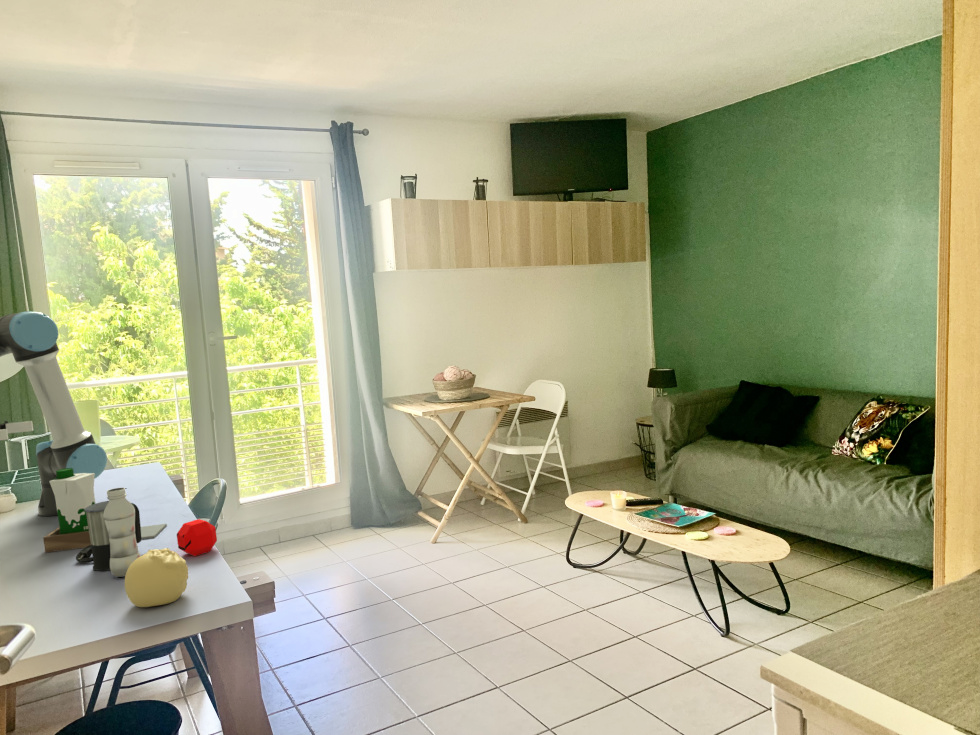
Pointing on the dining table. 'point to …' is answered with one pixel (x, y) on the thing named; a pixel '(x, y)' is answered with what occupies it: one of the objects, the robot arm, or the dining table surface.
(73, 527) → the soya milk
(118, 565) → the plastic bottle
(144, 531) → the mat
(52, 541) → the holder
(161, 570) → the pale yellow rounded lump
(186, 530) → the ball
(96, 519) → the milk frother
